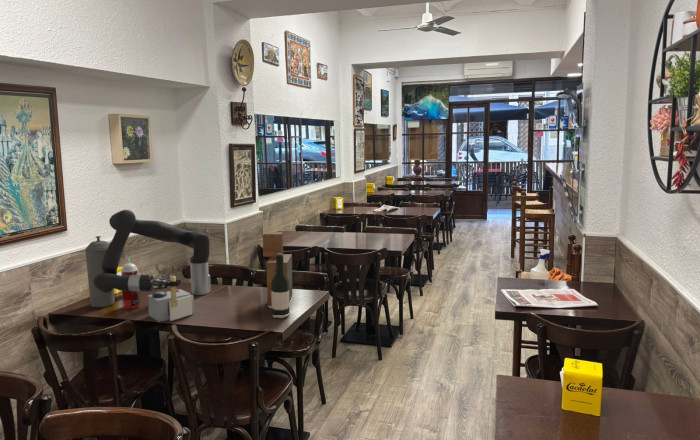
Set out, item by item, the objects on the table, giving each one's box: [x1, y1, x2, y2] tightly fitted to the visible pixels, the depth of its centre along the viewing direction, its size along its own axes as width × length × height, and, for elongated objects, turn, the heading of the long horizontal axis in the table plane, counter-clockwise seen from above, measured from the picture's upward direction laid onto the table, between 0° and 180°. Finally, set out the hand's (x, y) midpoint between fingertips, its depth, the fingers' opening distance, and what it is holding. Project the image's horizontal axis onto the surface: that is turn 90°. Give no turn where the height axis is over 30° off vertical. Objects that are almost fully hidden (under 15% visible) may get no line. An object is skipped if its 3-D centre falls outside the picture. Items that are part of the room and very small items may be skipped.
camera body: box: [147, 288, 192, 323], centre depth 246 cm, size 16×11×11 cm
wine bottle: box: [271, 253, 290, 315], centre depth 245 cm, size 8×8×30 cm
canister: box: [84, 235, 116, 308], centre depth 260 cm, size 13×13×35 cm
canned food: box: [121, 291, 141, 310], centre depth 258 cm, size 8×8×11 cm
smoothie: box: [120, 257, 139, 275], centre depth 278 cm, size 8×8×20 cm
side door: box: [169, 275, 195, 322], centre depth 241 cm, size 13×3×21 cm, turn 143°
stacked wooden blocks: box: [262, 231, 293, 306], centre depth 265 cm, size 19×14×35 cm
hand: (179, 283), depth 236 cm, fingers closed on side door, 2 cm apart
